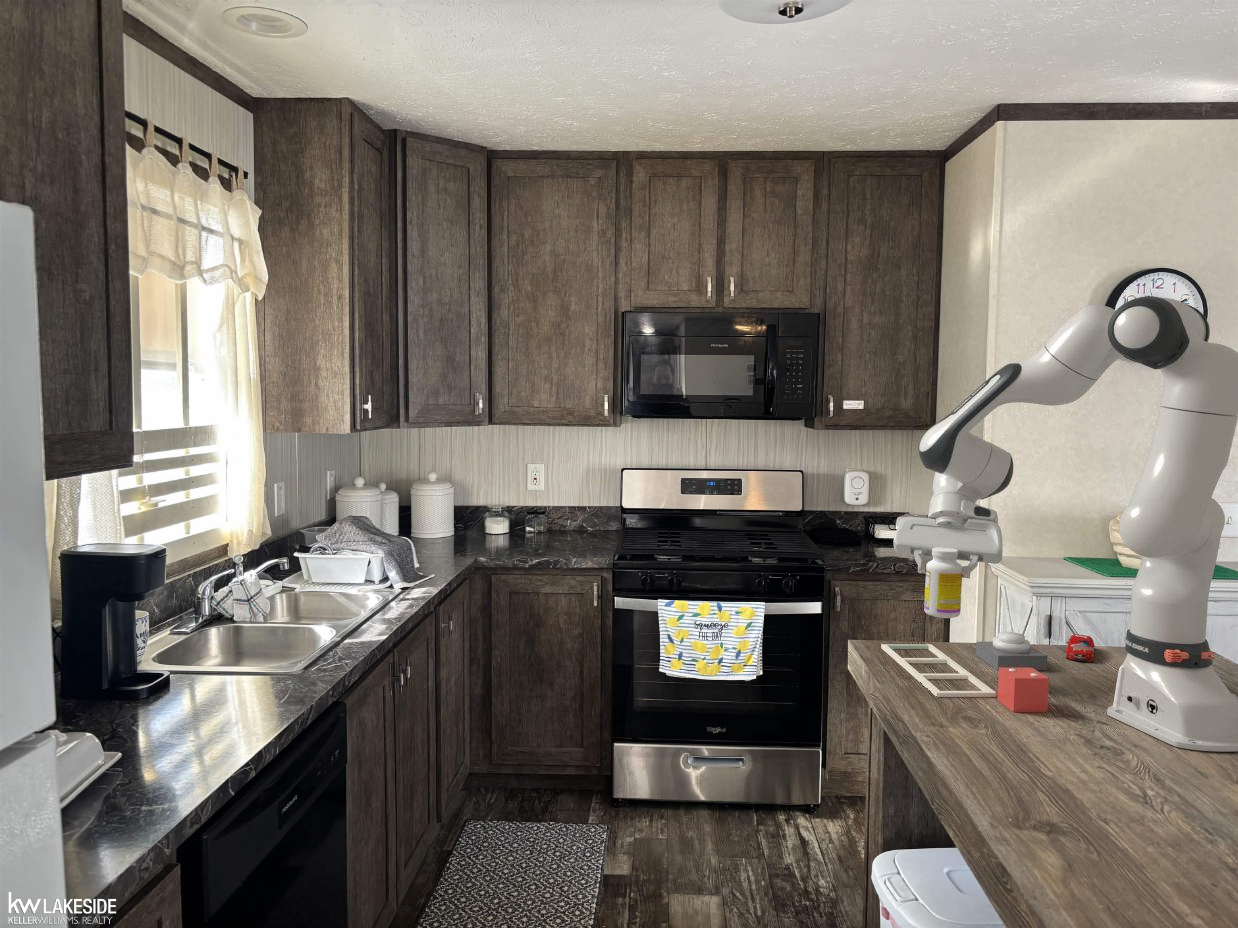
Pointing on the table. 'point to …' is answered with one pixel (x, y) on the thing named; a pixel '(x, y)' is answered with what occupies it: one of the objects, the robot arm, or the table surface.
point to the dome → (1011, 642)
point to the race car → (1080, 648)
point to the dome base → (1011, 657)
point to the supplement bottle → (943, 584)
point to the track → (923, 677)
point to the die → (1023, 689)
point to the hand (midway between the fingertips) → (943, 574)
